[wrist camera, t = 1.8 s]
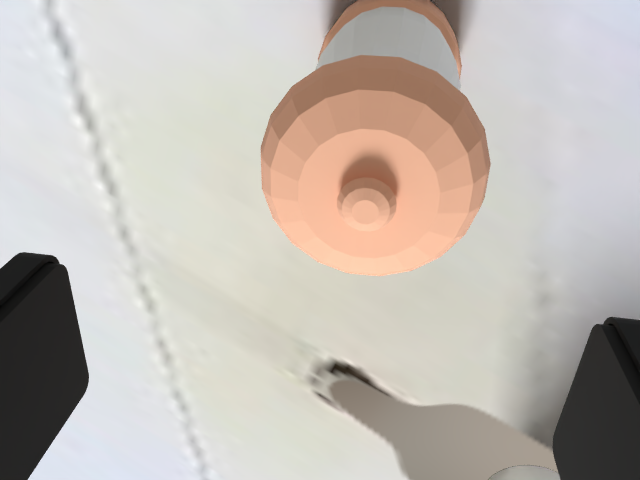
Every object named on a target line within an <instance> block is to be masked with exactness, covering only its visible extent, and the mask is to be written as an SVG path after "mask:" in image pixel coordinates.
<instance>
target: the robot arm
mask: <svg viewBox="0 0 640 480" xmlns="http://www.w3.org/2000/svg"><path fill="white" fill-rule="evenodd" d="M88 382H89V373H88V368H87V363H86V359H85V354H84V349H83V344H82V339H81V334H80V329H79V325H78V320H77V315H76V310H75V305H74V300H73V295H72V291H71V286H70V281H69V276H68V272H67V269H66V267H65V266H64V265H62V264H59V261H58V260H57V258H56V257H54V256H52V255H44V254H35V253H26V252H23V253H19V254H17V255H16V256H14V257H13V258H12V259H11V260H10V261H9V262H8V263H6V264H5V265H4V266H3V267H2V268H1V269H0V480H28V478H29V477H30V475H31V474H32V472H33V471H34V469H35V468H36V466H37V465H38V463H39V462H40V460H41V458H42V457H43V455H44V454H45V452H46V451H47V449H48V448H49V446H50V445H51V443H52V442H53V440H54V439H55V437H56V436H57V434H58V433H59V431H60V430H61V428H62V427H63V425H64V424H65V422H66V421H67V419H68V418H69V416H70V415H71V413H72V412H73V410H74V409H75V407H76V406H77V404H78V403H79V401H80V400H81V398H82V397H83V395H84V394H85V392H86V389H87V386H88ZM553 454H554V458H555V461H556V465H557V469H558V472H559V476H560V479H561V480H640V320H634V319H625V318H616V317H610V318H607V319H606V320H605V322H604V324H603V325H601V324H596V325H595V326H594V327H593V328H592V330H591V333H590V336H589V339H588V341H587V344H586V347H585V350H584V352H583V355H582V358H581V361H580V363H579V366H578V369H577V372H576V374H575V377H574V380H573V383H572V385H571V388H570V391H569V394H568V397H567V399H566V402H565V405H564V408H563V410H562V413H561V416H560V419H559V421H558V424H557V427H556V430H555V432H554V436H553Z"/></svg>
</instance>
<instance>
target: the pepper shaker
mask: <svg viewBox="0 0 640 480" xmlns="http://www.w3.org/2000/svg"><path fill="white" fill-rule="evenodd" d="M461 67H462V65H461V59H460V53H459V48H458V43H457V40H456V37H455V34H454V31H453V30H452V28H451V26H450V24H449V22H448V21H447V19H446V17H445V15H444V13H443V12H442V11H441V10H440V9H439V8H437V7H436V6H435V5H434V4H433V3H432V2H431V1H430V0H357V1H356V2H354V3H353V4H352V5H350V6H349V7H347V8H346V9H345V11H344V12H343V13H342V15H341V16H340V17H339V19H338V20H337V21H336V23H335V24H334V25H333V27H332V28H331V30H330V31H329V32H328V34H327V35H326V36H325V39H324V42H323V45H322V48H321V51H320V54H319V57H318V64H317V67H316V70H315V71H314V72H312V73H311V74H310V75H308V76H307V77H305V78H304V79H302V80H301V81H299V82H298V83H296V84H295V85H293V86H292V87H291V88H290V90H289V91H288V92H287V94H286V95H285V97H284V98H283V99H282V101H281V102H280V103H279V105H278V106H277V107H276V109H275V110H274V111H273V113H272V114H271V116H270V119H269V122H268V126H267V129H266V132H265V135H264V138H263V142H262V145H261V173H262V190H263V192H264V195H265V198H266V201H267V203H268V206H269V209H270V211H271V214H272V217H273V219H274V220H275V221H276V223H277V224H278V225H279V227H280V228H281V229H282V231H283V232H284V233H285V234H286V236H287V237H288V238H289V240H290V241H291V242H292V243H293V244H294V245H295V246H297V247H298V248H299V249H301V250H302V251H304V252H305V253H306V254H308V255H309V256H310V257H312V258H313V259H315V260H316V261H317V262H320V263H322V264H325V265H327V266H330V267H333V268H335V269H338V270H341V271H343V272H346V273H351V274H362V275H372V276H384V275H389V274H395V273H401V272H407V271H412V270H414V269H416V268H418V267H420V266H422V265H425V264H427V263H429V262H431V261H433V260H435V259H437V258H439V257H441V256H442V255H443V254H444V253H445V252H447V251H448V250H449V249H450V248H451V247H452V246H453V245H454V244H455V243H456V242H458V241H459V240H460V239H461V238H462V237H463V236H464V235H465V234H466V232H467V230H468V228H469V227H470V225H471V223H472V221H473V219H474V218H475V216H476V214H477V212H478V211H479V209H480V207H481V205H482V202H483V200H484V197H485V192H486V186H487V181H488V175H489V170H490V158H489V152H488V146H487V140H486V134H485V129H484V127H483V125H482V123H481V122H480V120H479V118H478V116H477V115H476V113H475V111H474V109H473V108H472V106H471V104H470V102H469V101H468V99H467V97H466V96H465V95H464V94H462V93H461V92H460V86H461V85H460V75H461Z"/></svg>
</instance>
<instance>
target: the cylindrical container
mask: <svg viewBox="0 0 640 480" xmlns="http://www.w3.org/2000/svg"><path fill="white" fill-rule="evenodd" d="M488 480H561V479H560V476H559V473H557V472H556V471H553V470H551V469H548V468H544V467H540V466H532V465H520V466H513V467H510V468H506V469H503V470H501V471H499V472H497V473H495V474H494V475H493V476H491V477H490V478H489V479H488Z"/></svg>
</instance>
